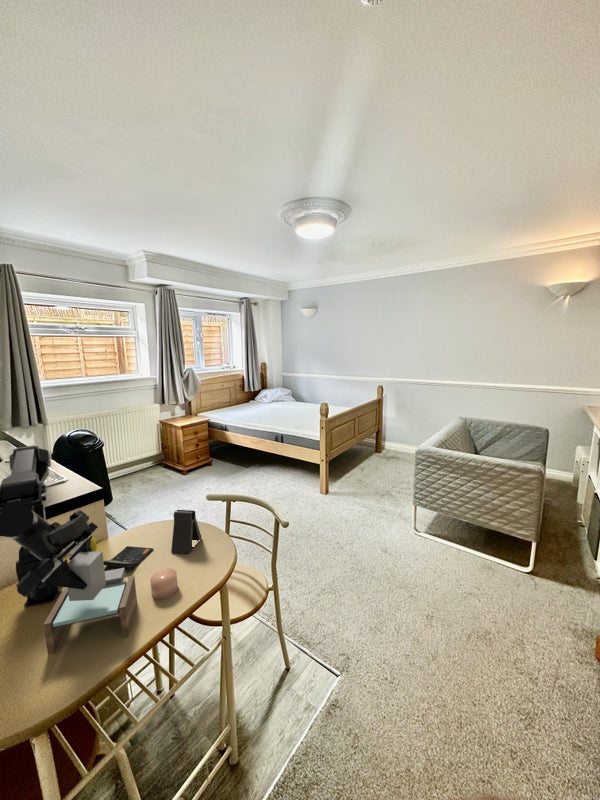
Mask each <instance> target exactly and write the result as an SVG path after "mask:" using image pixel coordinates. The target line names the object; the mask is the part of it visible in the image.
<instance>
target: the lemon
mask: <svg viewBox="0 0 600 800" xmlns="http://www.w3.org/2000/svg"><path fill="white" fill-rule="evenodd" d="M90 536H91V535H90ZM90 536H89V537H90ZM89 537H88V538H89ZM88 538H87V539H88ZM91 549H92V551H93V552H95V551H97V550H98V549H97V541H96V539H95V538H94V537H93V538H92V539H91Z"/></svg>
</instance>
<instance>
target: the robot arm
mask: <svg viewBox="0 0 600 800" xmlns="http://www.w3.org/2000/svg"><path fill="white" fill-rule="evenodd" d="M12 451H13V452H12V454H9V457H8V458H9V470H10V471H11V474H10V475H8V476H7V477H5V478H3V479H1V483H0V536H2V537H5V538H8V539H12V540H14V541H15V543H18V545H20V548H19V550H18V560H16V561H15V571H16V572H15V573H16V577H17V584H16V585H15V586H16V591H17V593H18V594H19V595H21V596H22V597H24V598H26V601H25V602H24V604H23V606H24V607H30V606H36V605H40V604H44V603H49V602H53V601H55V600H56V598H57V597H58V595H59V593H60V592H61V590H62V588H75V589H82V590H83V589H85V588H86V587H87V584H86V583H85V582H84V581H83V580H82V579H81V578H80V577H79V576H77V575H76V574H75V573H74V572H73V571H72V570H70V569H69V567H68V563H69V562H68V560H69V561H71V560H72V559H73V558H74V557H75V556H76V555H77V554H78V553H79V552H93V551H92V549H91V539H92V538H94V537H93V533H94V532H95V531H96V530H97V529H98V528H99V526H98V525H96V524H95V523H94V522H92V521H90V520H89V519H90V516H89V515H87V513H85V512H84V511H83V510H80V509H79V510H76V511H75V512H73V513H71V514H70V515H69V520H67V521H66V522H65V523H63V524H60V523H59V522H57V521H53V522H52V523H51V524H50V523H49V522H48V521H46V510H45V509H46V507H45V502H46V501H47V493H48V492H47V490H48V489H47V485H46V484H45V481H46V480H47V478H48V477H49V475H50V471H49V468H50V467H51V466H52V461H51V455H50V451H49V450H47V449H44V448H40V447H39V445H35V444H34V445H28V446H20V447H16V448H14V449H13V450H12ZM89 521H90V522H89ZM89 536H90V537H89ZM88 537H89V538H88ZM87 538H88V539H87ZM68 554H70V555H71V556H70V557H69V558H68V559H67V558H66V559H64V558H65V557H66V556H67V555H68Z"/></svg>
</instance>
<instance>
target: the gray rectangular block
mask: <svg viewBox="0 0 600 800" xmlns="http://www.w3.org/2000/svg"><path fill="white" fill-rule="evenodd" d="M103 555H104V553H103V551H101V550H100V551H97V550H96V551H95V552H79V553H78V554H77V555H76V556H75V557H74V558H73V559H72V560H69V561H68V562H67V563H68V567H69V569H70V570H72V571H73V572H74V573H75V574H76V575H77V576H79V577H80V578H81V579H82V580H83V581H84V582H85V583H86V584H87V587H86V588H85V589H83V590H82V589H75V588H68V595H69V601H82V600H94V598H95V597H96V596H97V595H98V593H99V592H100V591H101V590H102V588H103V587H104V586H105V585H106V579H105V571H106V570H105V565H104V562H103V561H104V556H103Z"/></svg>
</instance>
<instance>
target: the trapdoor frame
mask: <svg viewBox="0 0 600 800" xmlns="http://www.w3.org/2000/svg"><path fill="white" fill-rule="evenodd" d="M135 579H136V578H135V574H134V575H129V576H128V577H127V581H126V583H127V584H126V587H125V591H124V594H123V597H122V600H121V604H120V607H119V610H118V612H119V618H120V619H119V621H120V627H121V635H122V636H121V637H122V638H126V637H129V635H130V630H131V628H132V623H133V619H134V615H135V610H136V606H137V602H138V598H137V589H136V580H135ZM67 596H68V588H67V587H65V588H63V590H62V591H61V593H60V595H59V596H58V598H57V600H56V602H55V603H54V605H53V607H52V609H51V610H50V612H49V614H48V615H47V617H46V619H45V621H44V623H43V630H44V637H45V645H46V651H47V656H52V655H54V654H56V652H57V650H58V648H59V647H60V644H61V641H62V640H63V638H64V635H65V634H66V631H67V629H68V628H69V625H70V623H69V624H65V625H60V626H56V627H53V622H54V620H55V619H56V617H57V615H58V613H59V611H60V609H61V607H62V606H63V604H64V602H65V600H66V598H67Z"/></svg>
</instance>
